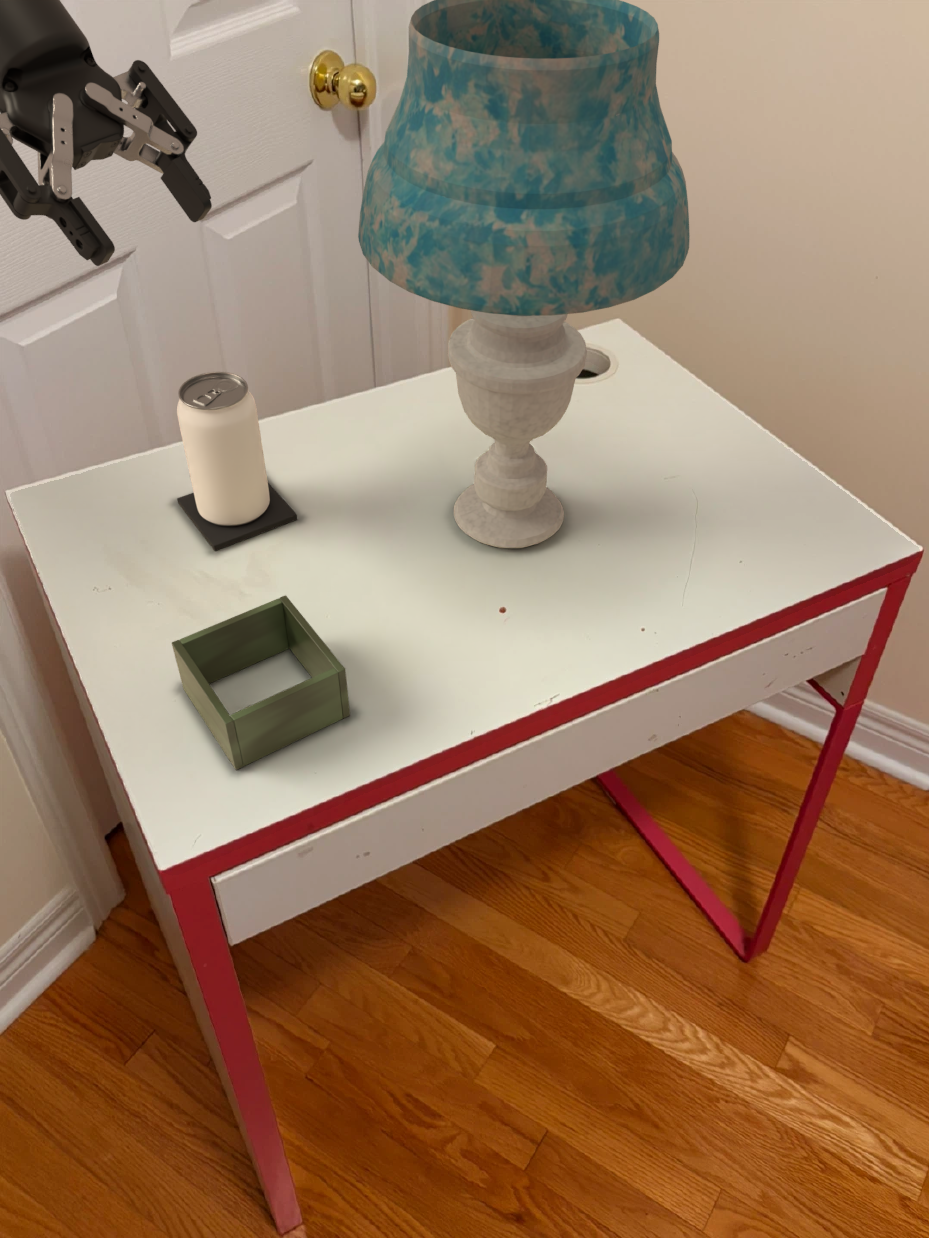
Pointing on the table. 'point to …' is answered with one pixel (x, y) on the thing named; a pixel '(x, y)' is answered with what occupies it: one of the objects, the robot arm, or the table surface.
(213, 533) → the mat
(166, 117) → the robot arm
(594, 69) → the table lamp
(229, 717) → the caddy
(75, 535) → the table surface
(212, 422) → the can
